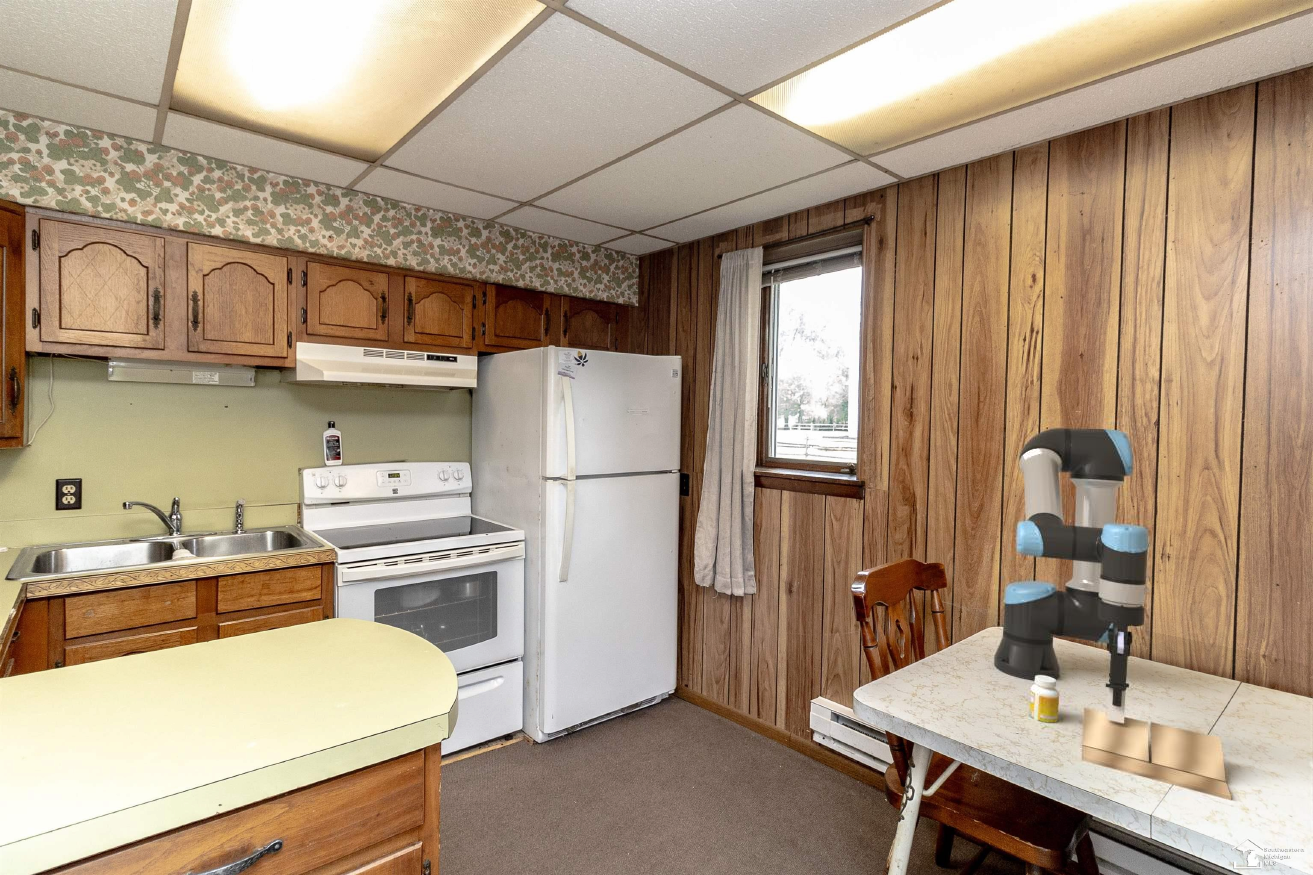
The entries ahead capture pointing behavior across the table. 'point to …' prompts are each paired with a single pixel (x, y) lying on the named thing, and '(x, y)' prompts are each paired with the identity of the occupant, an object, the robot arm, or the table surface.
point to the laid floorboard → (1156, 772)
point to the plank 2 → (1187, 751)
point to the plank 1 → (1116, 735)
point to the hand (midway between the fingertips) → (1115, 719)
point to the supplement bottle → (1044, 700)
